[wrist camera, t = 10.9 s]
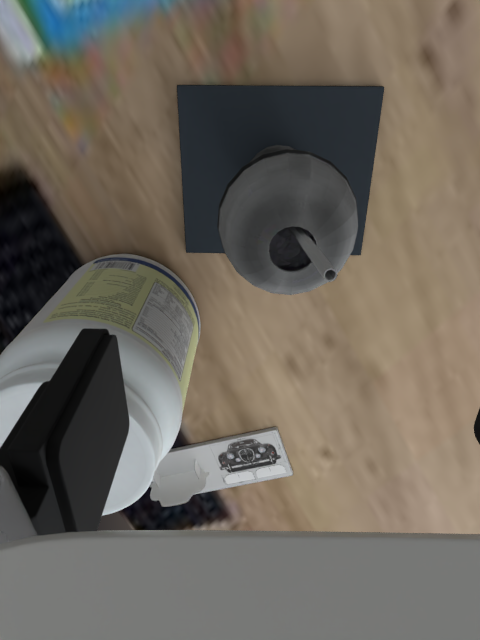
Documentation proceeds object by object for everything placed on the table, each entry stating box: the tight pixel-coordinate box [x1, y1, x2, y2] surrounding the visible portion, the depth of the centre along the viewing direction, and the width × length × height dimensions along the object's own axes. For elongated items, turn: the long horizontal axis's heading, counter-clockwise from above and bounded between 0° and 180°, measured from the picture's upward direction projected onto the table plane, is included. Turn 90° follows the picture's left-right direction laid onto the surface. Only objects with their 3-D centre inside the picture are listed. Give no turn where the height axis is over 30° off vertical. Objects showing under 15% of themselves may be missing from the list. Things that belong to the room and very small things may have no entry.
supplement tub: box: [0, 254, 200, 515], centre depth 33 cm, size 12×12×17 cm
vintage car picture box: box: [150, 427, 293, 507], centre depth 47 cm, size 15×7×4 cm, turn 107°
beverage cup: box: [217, 145, 358, 295], centre depth 25 cm, size 7×7×20 cm
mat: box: [177, 85, 384, 255], centre depth 34 cm, size 14×12×1 cm
